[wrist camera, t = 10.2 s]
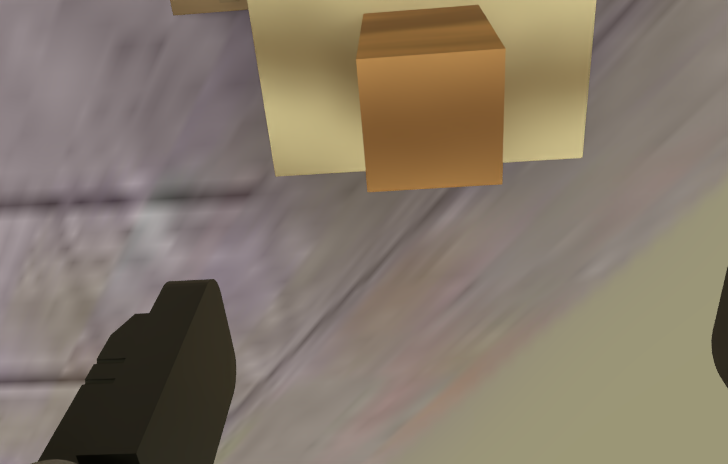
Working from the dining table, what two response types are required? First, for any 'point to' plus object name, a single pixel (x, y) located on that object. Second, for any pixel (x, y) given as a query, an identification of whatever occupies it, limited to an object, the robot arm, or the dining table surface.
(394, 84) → the wooden block on base
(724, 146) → the dining table surface
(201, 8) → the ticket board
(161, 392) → the robot arm
